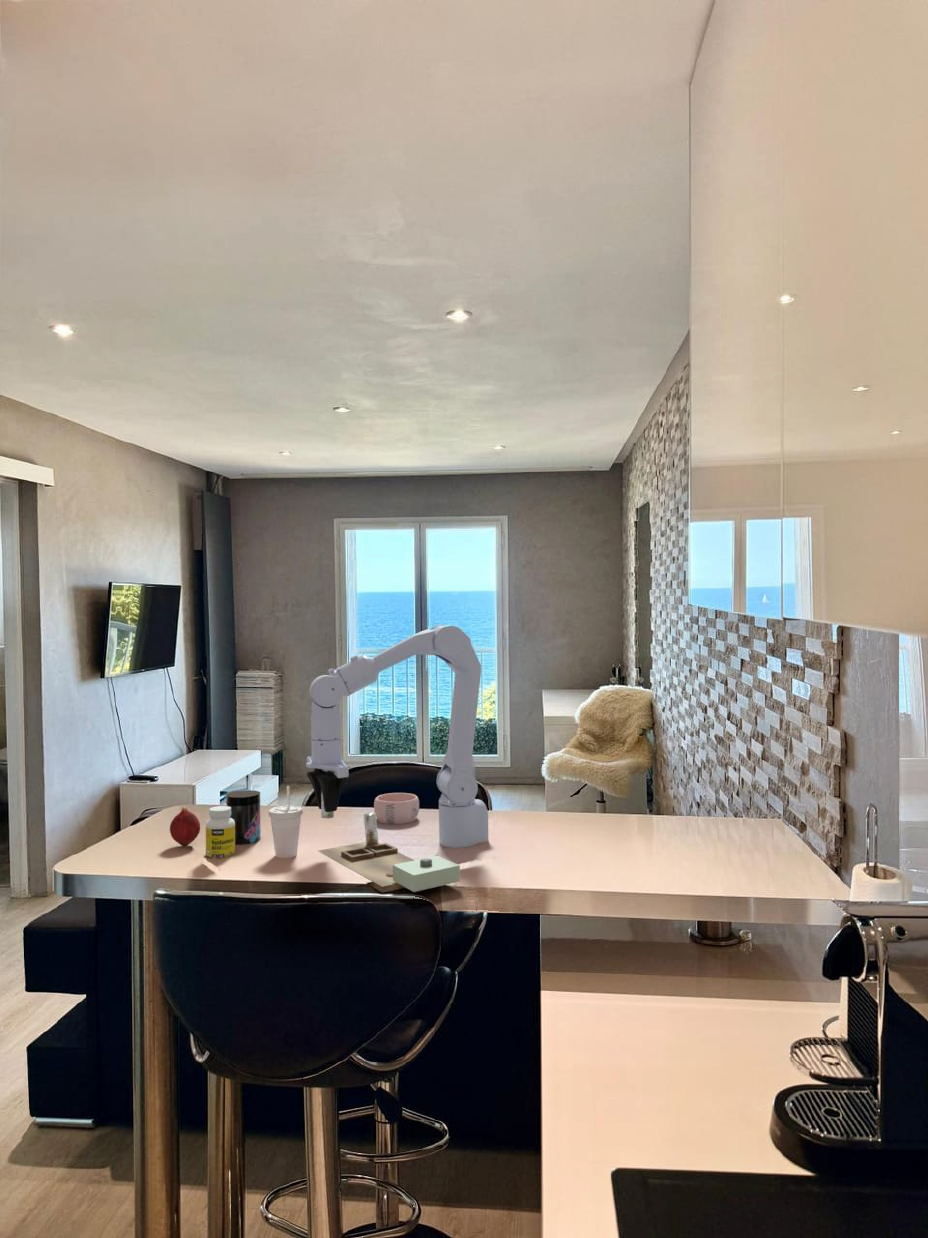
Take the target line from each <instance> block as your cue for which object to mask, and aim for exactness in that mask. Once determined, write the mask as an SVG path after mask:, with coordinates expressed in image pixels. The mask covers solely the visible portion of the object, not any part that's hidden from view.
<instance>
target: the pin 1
mask: <svg viewBox="0 0 928 1238" xmlns="http://www.w3.org/2000/svg"><path fill="white" fill-rule="evenodd" d="M320 812H321V813H320V814H321V815H320V816H321V818H322V819H332V818H334V817H335V811H332V812H325V809H324V803H323V794H322V790H321V809H320Z"/></svg>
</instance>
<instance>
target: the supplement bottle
mask: <svg viewBox="0 0 928 1238" xmlns="http://www.w3.org/2000/svg"><path fill="white" fill-rule="evenodd" d="M208 815H209V817H210V819H207V821H206V823H205V860H206V861H207V862H209V863H212V861H211V860H210V859H224V858H229V857H232V856H234V855H235V854H236V845H235V821H234V820H233V819H232V818H230V816H231V807H228V806H226V805H218V806H214V807H210V808H209V813H208ZM208 858H209V859H208Z"/></svg>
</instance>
